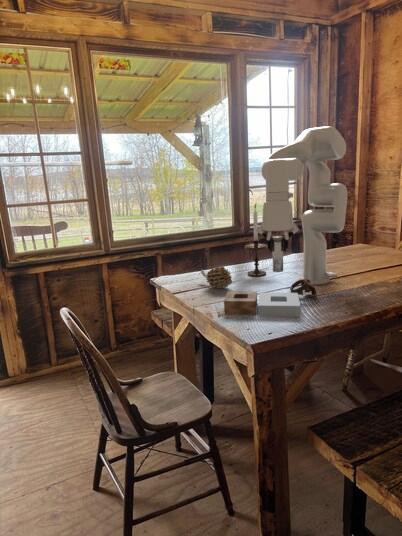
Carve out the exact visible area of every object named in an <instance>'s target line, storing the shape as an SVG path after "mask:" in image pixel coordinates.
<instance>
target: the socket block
mask: <svg viewBox="0 0 402 536" xmlns="http://www.w3.org/2000/svg"><path fill="white" fill-rule="evenodd" d="M258 296H259V297H258V302H257V311H258V312H257V313H258V314H257V315H258V317H266V318H267V317H268V318H270V317H272V318H274V317H276V318H277V317H279V318H301V303H300V299H299V295H298V293H291V292H259V295H258Z"/></svg>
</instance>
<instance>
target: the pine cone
mask: <svg viewBox="0 0 402 536" xmlns="http://www.w3.org/2000/svg"><path fill="white" fill-rule="evenodd" d="M200 272H201V275H202V276H203V277H205V279H206V283H208V284H209V286H210V287H211V288H213V287H214V288H215V289H218V288H219V289H223V288H225V289H226V288H227V287H229V286H230V285H231V284H232V283H233V280H232V275H231V274H232V272H230V270H229V268H227V269H226V268H225V266H220V267H219V266H216V267H215V268H212V269H210V270H209V271H207V274H206V272H205V270H203V269H201V270H200Z"/></svg>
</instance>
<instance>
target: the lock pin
mask: <svg viewBox="0 0 402 536" xmlns="http://www.w3.org/2000/svg"><path fill="white" fill-rule="evenodd" d="M284 237H285V236H284V235H283V236H282V235H276V236H271V240H272V272H274V273H282V272H284Z"/></svg>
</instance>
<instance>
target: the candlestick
mask: <svg viewBox="0 0 402 536" xmlns="http://www.w3.org/2000/svg"><path fill="white" fill-rule="evenodd" d="M252 220H253V239H251V241H252V242H253V243H249V244H248V243H247V244H246V245H244V249H245V250H249V251H251V250H252V251H254V258H253V261H254V263H253V266H255V267H254V268H255V269H253V270H250V271H247V276H248V277H253V278H260V277H261V278H262V277H264V276H267V272H266V271H265V270H262V269H261V270H259V266H260V264H259V261H260V258H259V256H258V255H259V254H258V253H259V251H260V250H265V249H268V243H267V244H266V243H261V242H259V241H261V239H259V233H258V232H257V229H258V228H259V226H258V224H259V223H258V211H257V203H255V204H254V210H253V219H252Z"/></svg>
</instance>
